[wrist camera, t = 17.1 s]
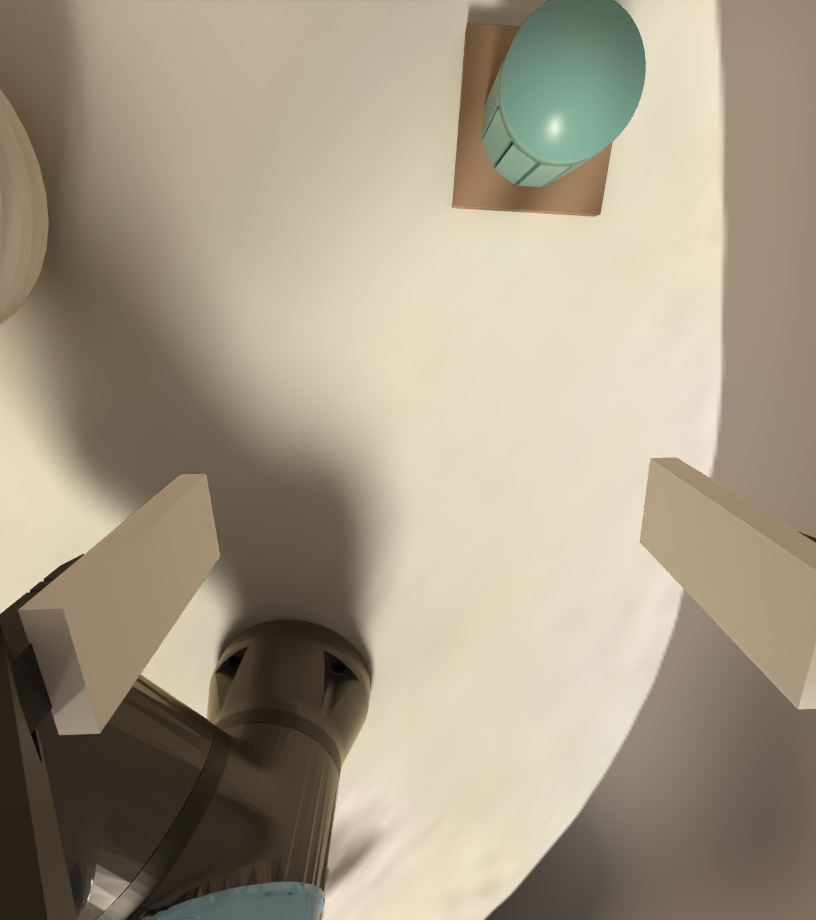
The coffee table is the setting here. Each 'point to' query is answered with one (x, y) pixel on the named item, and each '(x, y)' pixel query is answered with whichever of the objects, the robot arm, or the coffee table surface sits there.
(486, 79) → the post base
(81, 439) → the coffee table surface
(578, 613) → the coffee table surface
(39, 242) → the table lamp
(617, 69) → the cap
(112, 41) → the coffee table surface
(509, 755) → the coffee table surface
